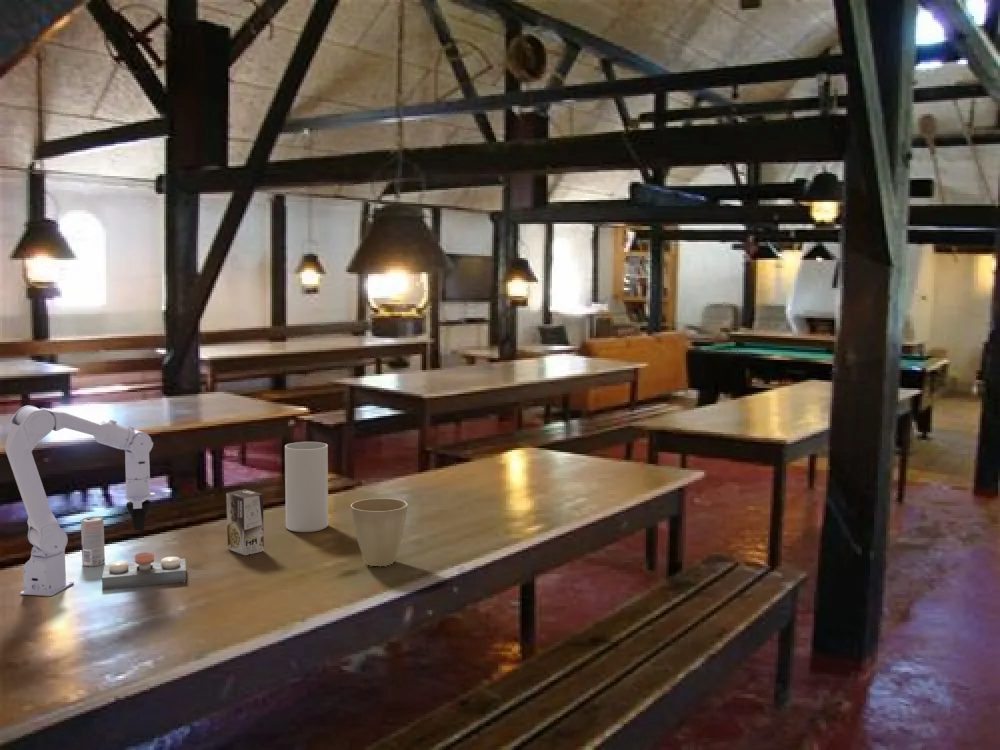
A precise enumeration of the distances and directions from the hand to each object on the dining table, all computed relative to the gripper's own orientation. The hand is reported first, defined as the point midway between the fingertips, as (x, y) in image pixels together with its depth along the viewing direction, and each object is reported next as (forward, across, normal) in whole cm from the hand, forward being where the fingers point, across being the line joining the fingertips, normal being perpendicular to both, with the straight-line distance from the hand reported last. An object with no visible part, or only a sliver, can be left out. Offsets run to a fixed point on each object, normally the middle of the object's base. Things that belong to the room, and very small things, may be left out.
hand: (139, 529), depth 235 cm
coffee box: (+11, +9, -27) cm, 30 cm away
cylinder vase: (+11, +27, -46) cm, 55 cm away
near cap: (+10, -9, +5) cm, 14 cm away
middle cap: (+8, -9, -1) cm, 12 cm away
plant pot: (+11, -13, -60) cm, 62 cm away
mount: (+10, -9, -1) cm, 14 cm away
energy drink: (+11, +8, +12) cm, 18 cm away
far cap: (+10, -9, -7) cm, 15 cm away
